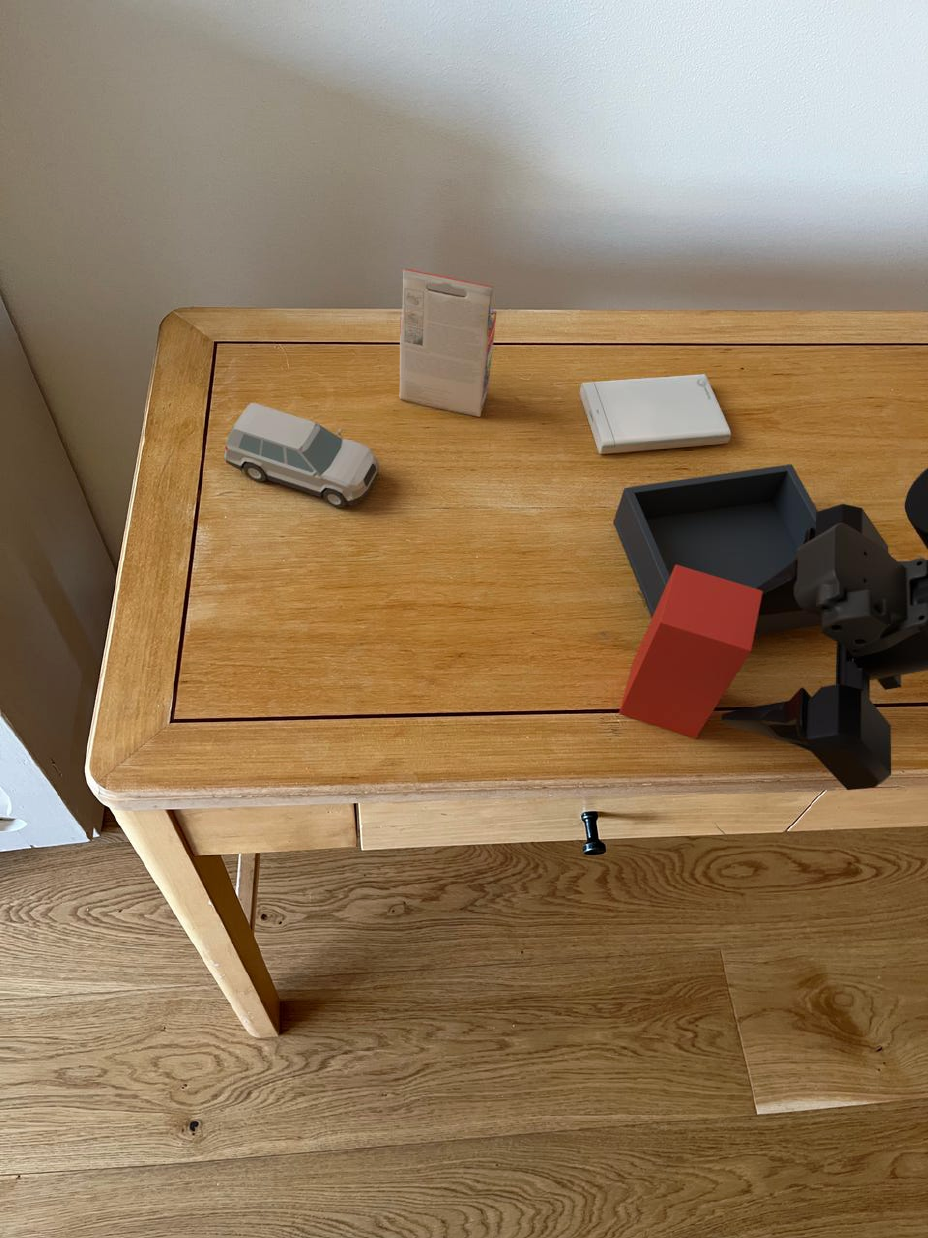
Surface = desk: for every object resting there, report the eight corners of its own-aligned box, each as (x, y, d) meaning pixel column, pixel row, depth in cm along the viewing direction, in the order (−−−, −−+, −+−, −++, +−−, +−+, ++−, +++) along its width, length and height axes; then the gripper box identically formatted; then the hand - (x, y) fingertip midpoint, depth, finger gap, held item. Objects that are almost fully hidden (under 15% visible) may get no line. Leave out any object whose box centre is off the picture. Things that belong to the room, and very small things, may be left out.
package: (707, 684, 73) (763, 590, 62) (695, 739, 70) (751, 651, 59) (633, 660, 73) (675, 564, 63) (618, 714, 71) (660, 622, 60)
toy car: (359, 518, 79) (357, 479, 75) (223, 473, 81) (214, 433, 77) (385, 471, 82) (385, 431, 78) (254, 429, 84) (246, 388, 80)
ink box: (408, 375, 89) (411, 241, 77) (488, 393, 89) (504, 261, 76) (397, 402, 87) (399, 268, 75) (480, 420, 87) (495, 289, 74)
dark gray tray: (773, 498, 84) (791, 463, 80) (838, 621, 77) (862, 589, 73) (612, 522, 81) (623, 487, 77) (665, 651, 74) (680, 620, 70)
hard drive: (705, 371, 90) (581, 380, 88) (732, 433, 86) (603, 443, 84) (700, 384, 91) (578, 393, 89) (727, 446, 87) (599, 456, 85)
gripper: (914, 413, 55) (683, 493, 65) (924, 676, 45) (649, 723, 55) (979, 525, 61) (758, 583, 71) (1000, 779, 51) (740, 805, 61)
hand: (729, 663), depth 65 cm, fingers open, 9 cm apart
